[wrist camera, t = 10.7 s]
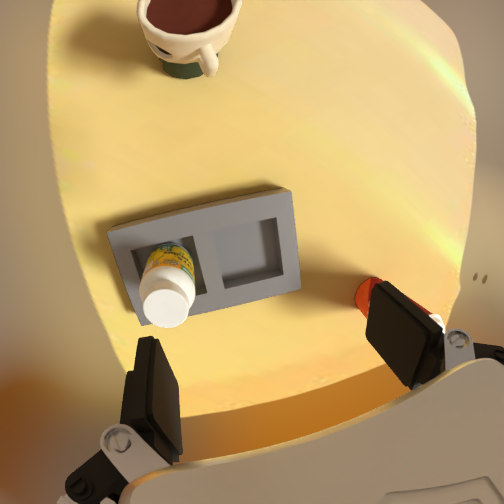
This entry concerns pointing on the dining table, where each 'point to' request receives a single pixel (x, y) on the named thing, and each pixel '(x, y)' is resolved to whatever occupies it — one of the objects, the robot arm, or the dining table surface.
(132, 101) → the dining table surface
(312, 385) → the dining table surface
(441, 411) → the robot arm
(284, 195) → the drink carrier
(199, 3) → the character mug
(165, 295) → the supplement bottle
